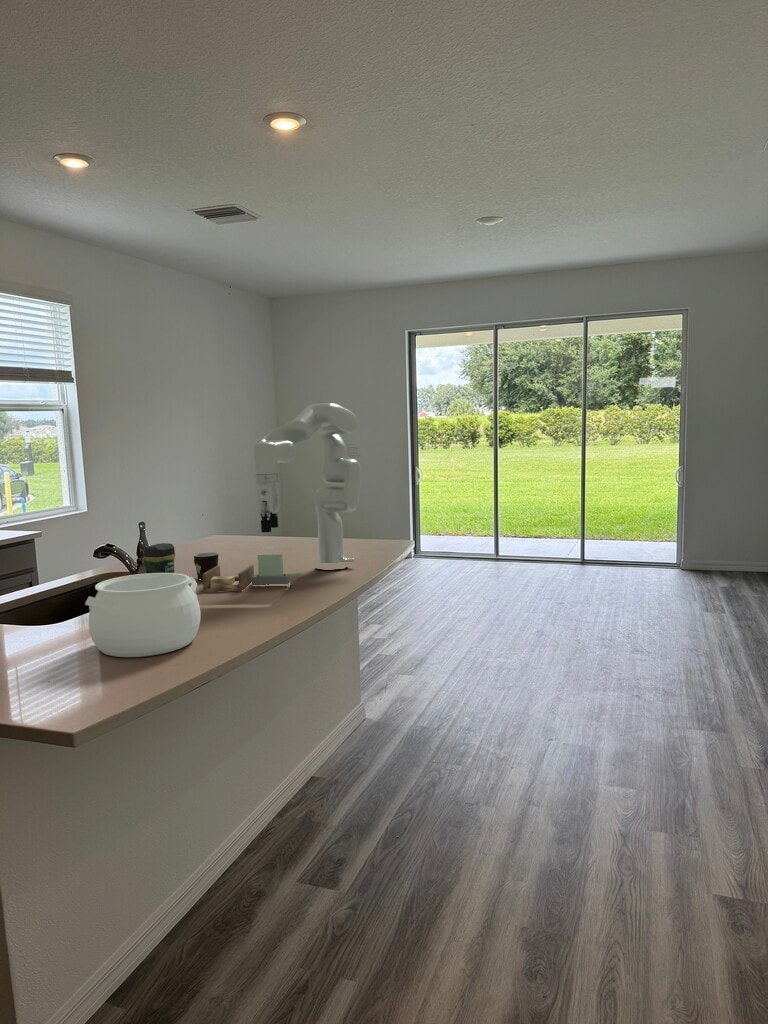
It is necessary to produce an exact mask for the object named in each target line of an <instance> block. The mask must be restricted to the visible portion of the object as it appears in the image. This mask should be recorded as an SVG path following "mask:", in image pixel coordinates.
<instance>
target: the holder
mask: <svg viewBox="0 0 768 1024" xmlns="http://www.w3.org/2000/svg"><path fill="white" fill-rule="evenodd" d="M290 581H291V573H283V576H264V577H259V573H257V574H256V573H255V574H254V576H253V577H252V585H266V584H267V585H269V584H288V583H289V582H290ZM252 585H251V586H252Z"/></svg>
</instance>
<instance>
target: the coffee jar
mask: <svg viewBox="0 0 768 1024" xmlns="http://www.w3.org/2000/svg"><path fill="white" fill-rule="evenodd" d="M175 551H176V549H175V546H174V545H173V543H167V542H165V543H164V542H162V543H155V544H152V545H148V546H145V548H144V550H143V560H144V563H145V574H148V573H175V572H176V571H175V559H176V558H175V557H176V552H175Z"/></svg>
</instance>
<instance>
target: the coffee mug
mask: <svg viewBox="0 0 768 1024" xmlns="http://www.w3.org/2000/svg"><path fill="white" fill-rule="evenodd" d="M193 564H194V566H195V569H196V570H195V571H196V575H197V580H198V579H201V580H203V575H202V574H204V573H205V572H207V571H209V570H211V569H212V568H214V567H216V566H219V552H209V551H208V552H200V553H195V554H193Z"/></svg>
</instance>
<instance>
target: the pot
mask: <svg viewBox="0 0 768 1024" xmlns="http://www.w3.org/2000/svg"><path fill="white" fill-rule="evenodd" d="M197 587H198V583H197V581H196V580H195V579H194V577H192V576H189V575H187V574H182V573H148V574H146V573H139V574H137V573H136V574H130V575H129V574H128V575H124V576H119V577H118V576H117V577H113V578H109V579H106V580H102V581H100V582H98V583H97V584H95V586H94V589H95V590H96V591H97V593H96V595H95V597H93V596H88V597H87V599H86V601H85V604H84V605H85V606H88V609H89V611H88V630H89V635H90V637H91V640H92V642H93V643H94V645H95V646H96V648H97V649H98V650H99V651H100V652H102V653H103V655H107V656H111V657H118V658H142V657H143V658H145V657H153V656H157V655H158V656H159V655H163V654H167V653H171V652H173V651H174V652H175V651H177V650H180V649H182V648H184V647H187V646H188V645H189V644H191V643H192V641H194V639H195V637H196V636H197V634H198V631H199V627H200V624H201V606H200V603H199V600H198V594H197V592H196V589H197Z"/></svg>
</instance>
